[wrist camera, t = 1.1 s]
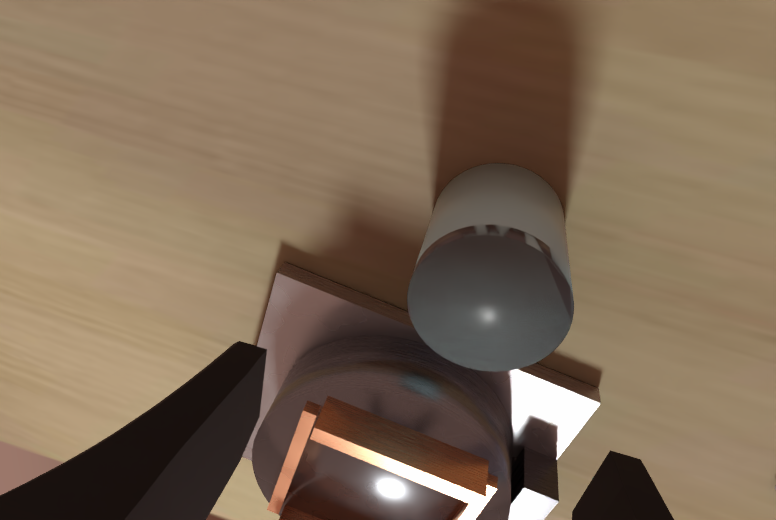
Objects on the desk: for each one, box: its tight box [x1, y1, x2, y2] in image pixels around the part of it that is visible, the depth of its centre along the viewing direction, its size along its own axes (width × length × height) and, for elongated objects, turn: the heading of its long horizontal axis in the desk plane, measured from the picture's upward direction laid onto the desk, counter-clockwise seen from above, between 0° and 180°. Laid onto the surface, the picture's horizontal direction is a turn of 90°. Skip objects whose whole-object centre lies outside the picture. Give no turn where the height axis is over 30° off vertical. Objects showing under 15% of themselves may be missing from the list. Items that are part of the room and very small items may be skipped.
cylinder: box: [407, 163, 574, 372], centre depth 18 cm, size 4×4×5 cm
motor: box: [242, 262, 601, 520], centre depth 23 cm, size 13×11×5 cm
